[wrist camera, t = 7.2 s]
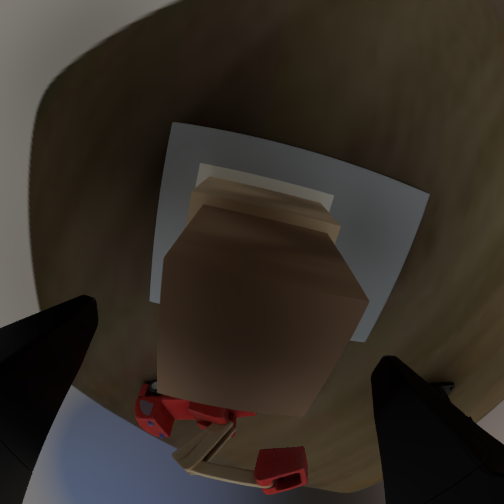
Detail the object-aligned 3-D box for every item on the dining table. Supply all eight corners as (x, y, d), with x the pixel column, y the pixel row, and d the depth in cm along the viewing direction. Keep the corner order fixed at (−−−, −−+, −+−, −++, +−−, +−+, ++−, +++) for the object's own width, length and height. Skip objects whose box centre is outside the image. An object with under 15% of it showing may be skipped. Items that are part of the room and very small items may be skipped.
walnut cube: (327, 233, 11) (369, 301, 7) (291, 330, 13) (303, 417, 8) (203, 204, 11) (163, 257, 6) (186, 309, 13) (156, 392, 8)
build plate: (421, 190, 15) (429, 194, 14) (360, 333, 19) (364, 342, 18) (177, 122, 14) (172, 121, 13) (154, 293, 18) (149, 301, 17)
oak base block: (320, 203, 15) (340, 226, 11) (289, 298, 17) (296, 341, 13) (209, 176, 14) (191, 190, 11) (191, 276, 17) (174, 316, 13)
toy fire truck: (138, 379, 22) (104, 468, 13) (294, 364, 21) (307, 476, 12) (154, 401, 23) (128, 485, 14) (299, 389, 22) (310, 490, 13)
